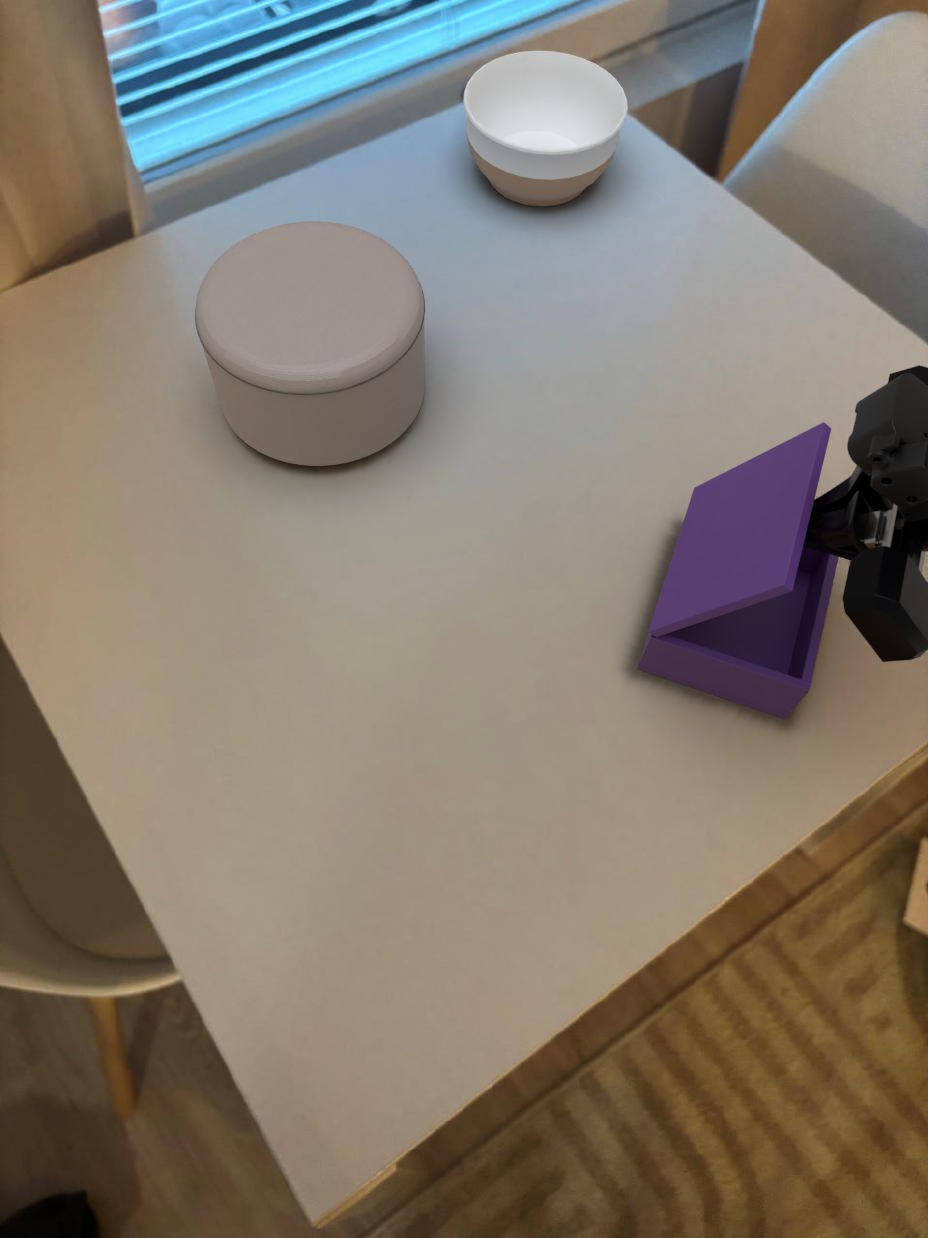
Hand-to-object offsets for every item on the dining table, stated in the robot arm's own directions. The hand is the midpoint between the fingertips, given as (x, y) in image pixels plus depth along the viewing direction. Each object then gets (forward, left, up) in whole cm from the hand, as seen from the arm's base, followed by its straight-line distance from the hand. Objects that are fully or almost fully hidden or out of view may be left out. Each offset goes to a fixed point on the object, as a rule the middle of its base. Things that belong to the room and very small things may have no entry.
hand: (777, 531), depth 63 cm
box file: (0, 0, -12) cm, 12 cm away
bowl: (+52, -16, -13) cm, 56 cm away
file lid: (+2, +1, -2) cm, 3 cm away
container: (+36, +17, -13) cm, 41 cm away
